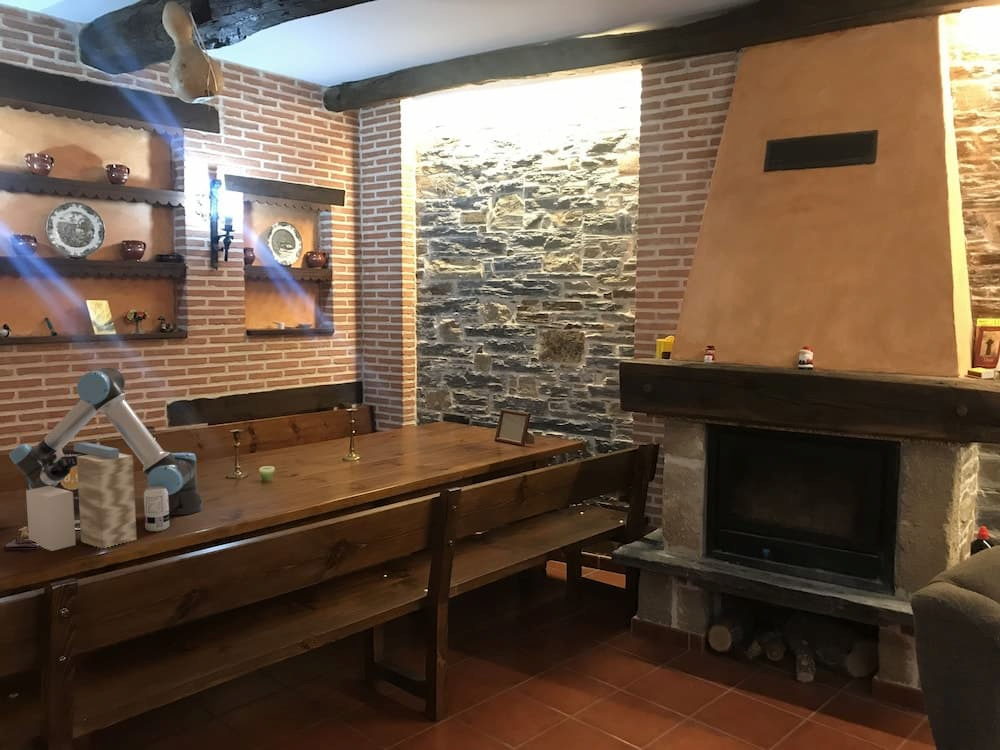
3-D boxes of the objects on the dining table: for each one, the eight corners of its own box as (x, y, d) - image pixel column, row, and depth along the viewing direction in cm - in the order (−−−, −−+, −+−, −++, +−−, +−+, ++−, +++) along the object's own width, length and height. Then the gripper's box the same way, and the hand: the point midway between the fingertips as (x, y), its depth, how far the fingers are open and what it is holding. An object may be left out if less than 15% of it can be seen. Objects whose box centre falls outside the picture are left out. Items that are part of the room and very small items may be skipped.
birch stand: (113, 532, 291) (110, 450, 288) (136, 539, 283) (132, 455, 280) (81, 541, 281) (76, 456, 278) (103, 548, 273) (99, 461, 270)
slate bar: (82, 449, 289) (81, 441, 289) (119, 457, 277) (118, 448, 276) (74, 451, 287) (73, 442, 287) (110, 459, 274) (110, 450, 274)
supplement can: (140, 529, 295) (138, 489, 294) (160, 524, 302) (159, 484, 300) (153, 533, 291) (152, 492, 289) (174, 527, 298) (172, 488, 296)
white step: (52, 537, 286) (49, 485, 284) (75, 544, 277) (72, 492, 275) (29, 542, 279) (26, 490, 277) (51, 550, 271) (49, 496, 269)
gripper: (91, 474, 307) (117, 452, 295) (23, 487, 286) (48, 464, 275) (85, 456, 308) (111, 433, 297) (16, 468, 288) (41, 444, 276)
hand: (80, 448), depth 286 cm, fingers open, 13 cm apart
